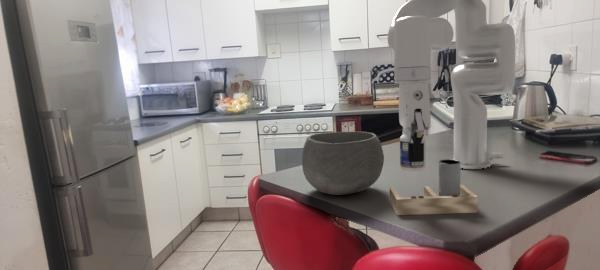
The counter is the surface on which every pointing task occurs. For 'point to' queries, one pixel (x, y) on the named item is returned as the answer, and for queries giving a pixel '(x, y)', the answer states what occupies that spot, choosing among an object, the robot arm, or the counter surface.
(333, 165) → the bowl
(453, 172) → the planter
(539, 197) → the counter surface
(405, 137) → the pill bottle
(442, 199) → the slot rack
